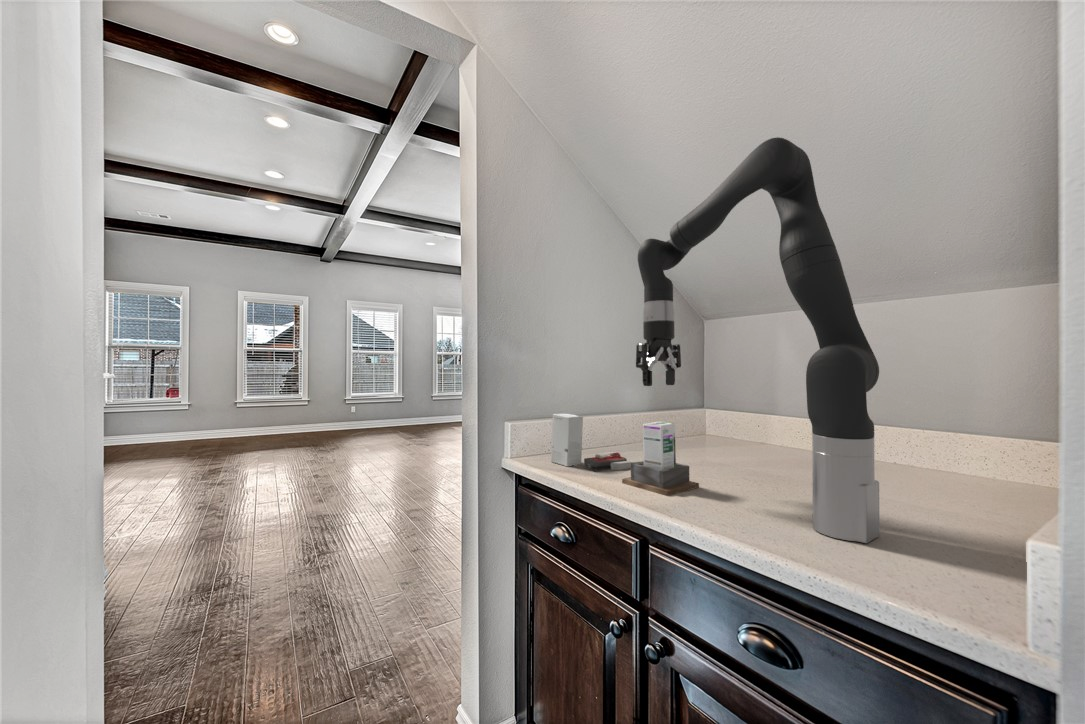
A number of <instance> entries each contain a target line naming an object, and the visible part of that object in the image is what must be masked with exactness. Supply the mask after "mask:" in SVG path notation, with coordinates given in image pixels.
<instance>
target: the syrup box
mask: <svg viewBox="0 0 1085 724" xmlns="http://www.w3.org/2000/svg"><path fill="white" fill-rule="evenodd" d="M642 442H643V443H642V447H643V461H644V466H647V467H651V468H655V469H659V470H665V469H670V468H675V467H676V463H677V461H676V460H677V459H676V423H673V422H669V421H653V422H647V423H643V424H642Z"/></svg>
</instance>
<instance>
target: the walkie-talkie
mask: <svg viewBox="0 0 1085 724" xmlns="http://www.w3.org/2000/svg"><path fill="white" fill-rule="evenodd" d="M639 462H644V460H643V461H635V462H632V461H629V460H627V458H626V457H624V456H621V454H620V453H619V452H616V451H607V452H605V451H604V452H603V453H602V454H595V456H594V457H587V458H584V459H583V468H584V467H586V468H585V469H587V468H588V470H590V469H591V470H590V471H592V470H593V471H592V472H601V471H602V470H603V471H625V470H631V464H633V463H639Z"/></svg>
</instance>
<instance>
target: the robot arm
mask: <svg viewBox="0 0 1085 724" xmlns="http://www.w3.org/2000/svg"><path fill="white" fill-rule="evenodd" d="M815 186H816V185H815V180H814V175H813V169H812V163H811V160H810V159H809V156H808V154H807V152H806V151H804V150H803V149H802V148H801V147H799V146H797V145H796V144H795V143H793V142H791V140H788V139H787V138H783V137H778V136H777V137H773V138H772V137H771V138H768V139H767V140H765V141H763V142H761V143H760V144H759V145H758V146H757V147H755V149H753V150H752V151H751V152H750V153H749V154H748V155H747V156H746V157H745V158H744V159H743V160H742V161H741V162H740V164H739V165H738V166H737V167H736V168H735V169H734V170H733V171H732V172H731V173H730V174H729V175H728V176H727V177H726V178H725V179H724V180H723V182H721V183H720V185H718V187H717V188H716V189H714V191H713V192H712V193H710V195H709V196H708V197H707V198H705V199H704V200H703V201H702V202H701V203H700V204H699V205H697V206H696V207H695V208H693V209H692V210H691V211H689V212H688V213H687V214H686V215H684V216H683V217H682V218H681V219H680V220H678V221H677V222H676V223H674V224H673V225H672V227H671V228H670V230H669V237H670V238H669V239H668V240H666V241H664V240H660V239H656V238H648V239H645V240H644V241H643V242H642V243H641V244H640V245H639V248H638V251H637V263H638V268H639V273H640V276H641V280H642V283H643V284H642V285H643V287H644V289H643V290H644V291H643V297H644V298H643V299H644V301H643V303H644V304H643V318H642V320H643V324H642V325H643V331H642V332H643V333H642V334H643V339H644V340H645V341H646V342H640V343H639V342H638V343H636V346H635V347H636V350H635V351H636V354H635V368H637V369H639V370H641V371H642V384H643V387H651V386H652V385H653V371H652V370H653V367H654V365H655V364H657V363H658V362H660V363H661V364H662V365H664V368H665V369H666V370H665V385H666V386H675V384H676V383H675V382H676V370H677V369H679V368H681V367H682V359H681V356H682V355H681V344H679V343H677V344H673V343H672V340H674V339H675V333H676V332H675V306H674V286H673V285H674V284H673V281H672V280H671V278H669V277H667V276H666V275H665V272H664V271H668V270H670V269H673V268H675V267H676V266H677V265H678V264H679V263H680V262H682V260H683V259H684V258H685V256H687V255H688V254H689V253H690V251H691V250H692V249H693V248H695V247H696V246H698V245H699V244H700V243H702V242H703V241H705V240H706V239H707V238H708V237H710V236H711V235H712V234H713V233H715V232H716V231H717V230H718V229H719V228H720V226H722V224H723V223H724V222H725V220H726V218H727V217H728V215H729V214H730V213H731V211H732V210H733V209H734V208H735V207H736V206H737V205H738V204H739V203H741V202H742V201H743V200H744V199H746V198H748V197H749V196H750V195H752V194H755V193H756V192H757V191H759V190H763V191H765V192H768V194H769V195H770V197H771V199H772V201H773V203H774V206H775V208H776V209H775V210H776V212H777V214H778V216H779V220H780V221H779V222H780V237H779V246H778V247H779V248H778V249H779V250H778V251H779V254H778V255H779V260H780V264H781V268H782V271H783V274H784V277H785V282H786V284H787V287H788V288H789V291H790V293H791V295H792V296H793V298H794V299H795V301H796V303H797V304H798V306H799V307H800V308H801V311H802V312H803V313H804V314H805V316H806V317H807V319H808V321H809V322H810V324H811V326H812V328H813V331H814V333H815V336H816V340H817V342H818V346H819V347H818V348H819V349H818V350H816V351H815V352H814V353H813V354H812V356H811V357H810V359H809V360H808V362H807V365H806V371H805V373H806V374H805V382H806V383H805V389H806V390H805V391H806V407H807V408H806V409H807V416H808V419H809V421H810V423H811V430H812V431H811V436H812V437H811V438H812V440H811V441H812V445H811V446H812V449H811V450H812V454H811V455H812V458H811V459H812V461H811V462H812V468H811V470H812V471H811V472H812V475H811V477H812V478H811V479H812V528H813V530H815V531H816V532H818V533H820V534H822V535H825V536H826V537H831V538H834V539H838V540H843V541H850V542H858V543H863V544H869V543H870V542H871V541H873V540H875V539H877V538H878V537H880V535H881V534H880V532H881V531H880V530H881V529H880V528H881V527H880V525H881V524H880V520H881V519H880V481H879V480H877V479H875V477H876V476H875V423H874V422H873V420H872V419H871V417H870V416H869V412H868V406H867V405H868V401H867V400H868V399H867V393H868V392H869V391H871V390H872V389H873V388H874V387H875V386H876V384H877V382H878V379H879V378H880V377H879V376H880V366H879V363H878V362H879V361H878V360H877V357H876V355H875V353H874V351H873V349H872V348H871V345H870V343H869V341H868V339H867V336H866V335H865V332H864V330H863V328H862V326H861V324H860V321H859V320H858V316H857V315H856V310H855V307H854V302H853V299H852V295H851V291H850V288H849V285H848V282H847V279H846V276H845V272H844V269H843V265H842V262H841V259H840V256H839V253H838V249H837V247H836V244H835V241H834V239H833V237H832V234H831V231H830V228H829V226H828V223H827V220H826V217H825V216H824V213H823V210H822V209H821V206H820V204H819V201H818V199H819V198H818V195H817V191H816V187H815Z"/></svg>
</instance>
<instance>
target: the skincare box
mask: <svg viewBox="0 0 1085 724" xmlns="http://www.w3.org/2000/svg"><path fill="white" fill-rule="evenodd" d="M583 421H584V417H583V416H581V415H577V414H572V413H553V414H552V425H551V427H552V429H551V451H550V453H551V454H550V462H551V463H553V464H557V463H558V464H557V465H562V466H565V467H571V466H572V465H574V466H578V465H577V464H580V465H582V454H583V452H582V450H583V427H584V426H583V424H584V422H583ZM572 467H573V466H572Z"/></svg>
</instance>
